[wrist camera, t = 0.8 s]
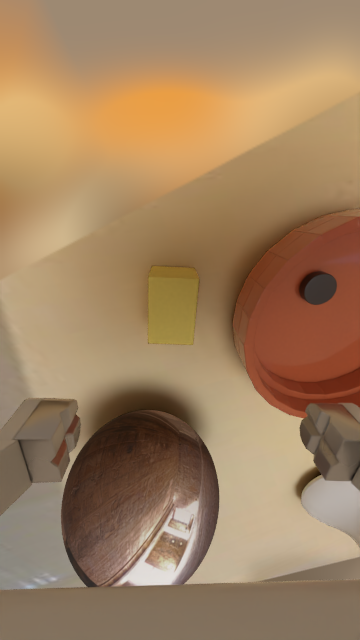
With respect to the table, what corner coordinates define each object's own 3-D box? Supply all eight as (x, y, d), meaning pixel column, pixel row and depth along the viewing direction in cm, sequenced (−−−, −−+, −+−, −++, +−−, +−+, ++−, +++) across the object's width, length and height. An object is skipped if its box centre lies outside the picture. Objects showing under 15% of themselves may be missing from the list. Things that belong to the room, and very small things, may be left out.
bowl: (250, 201, 20) (273, 199, 15) (466, 217, 21) (547, 219, 16) (219, 385, 28) (229, 418, 24) (375, 389, 29) (413, 421, 25)
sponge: (151, 265, 22) (148, 276, 18) (194, 267, 22) (199, 279, 18) (151, 323, 24) (147, 343, 21) (189, 325, 25) (192, 345, 21)
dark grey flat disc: (303, 270, 22) (309, 272, 21) (335, 271, 22) (342, 274, 21) (295, 300, 23) (300, 304, 22) (324, 302, 23) (331, 305, 22)
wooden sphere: (228, 403, 29) (277, 569, 16) (179, 474, 35) (184, 642, 21) (111, 365, 26) (47, 530, 13) (78, 449, 32) (9, 626, 18)
